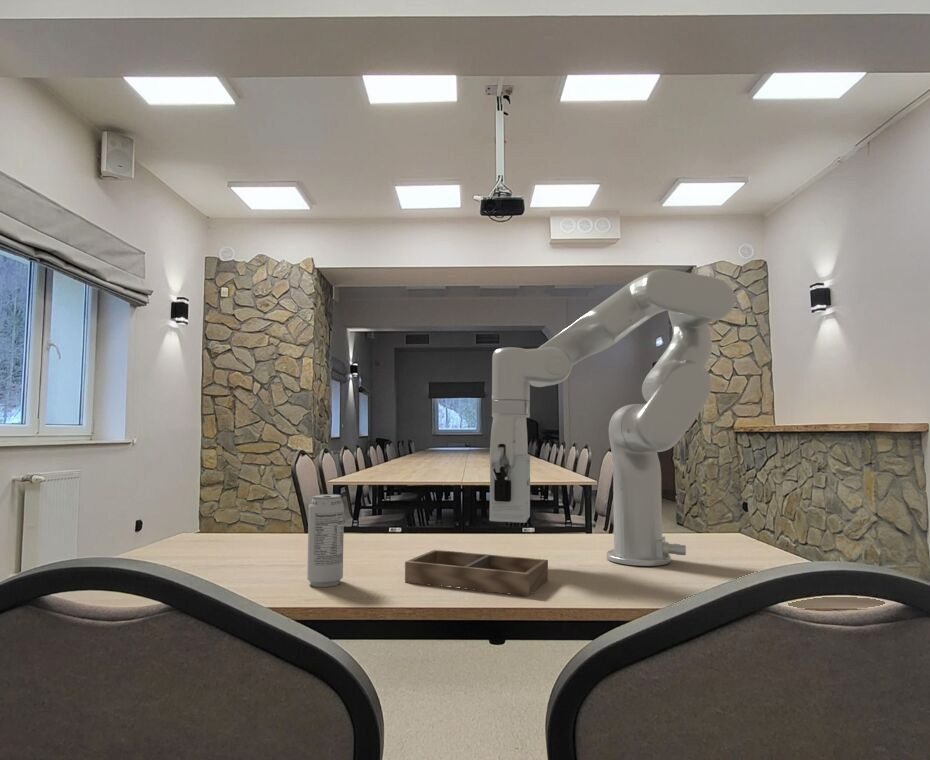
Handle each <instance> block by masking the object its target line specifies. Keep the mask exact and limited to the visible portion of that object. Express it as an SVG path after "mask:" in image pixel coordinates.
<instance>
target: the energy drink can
mask: <svg viewBox="0 0 930 760" xmlns="http://www.w3.org/2000/svg"><path fill="white" fill-rule="evenodd" d="M311 497H312V500H311V501H310V502H309V504H308V523H307V524H308V525H307V567H306V568H307V573H306V574H307V580H308V581H309V582H310V584H309V585H310V586H311V587H315V588H329V587H335V586H337V585H339V584H340V582H341V580H342V579H343V578H344V537H345V536H344V529H345V527H344V526H345V525H344V524H345V523H344V522H345V518H344V517H345V505H344V503H343V501H342V498H341V494H335V493H332V494H331V493H330V494H329V493H328V494H327V493H326V494H315V495H312V496H311Z"/></svg>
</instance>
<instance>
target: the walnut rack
mask: <svg viewBox="0 0 930 760" xmlns="http://www.w3.org/2000/svg"><path fill="white" fill-rule="evenodd" d="M548 581H549V560H548V559H544V558H543V559H541V558H533V557H532V558H531V557H529V558H528V557H519V556H518V557H517V556H508V555H498V554H497V555H496V554H489V553H488V554H486V553H476V552H475V553H474V552H466V551H465V552H463V551H453V550H444V549H443V550H442V549H432V550H431V551H427V552H425V553H424V554H421V555H418V556H416V557H413V558H411V559H408V560H406V561H404V583H407V582H408V584H416V583H419V584H418V585H424V584H430V585H429V586H433V585H440V586H439V587H442V586H451V587H460V588H467V589H466V590H468V589H475V590H474V591H476V590H482V591H481V592H485V591H490V592H489V593H494V592H500V593H499V594H502V593H510V594H509V595H511V594H516V595H515V596H520V595H525V596H524V597H529V596H531V595H532V594H533V593H534V592H536V591H537V590H538V589H539V588H540V587H542V586H543V585H544V584H545V583H546V582H548ZM441 585H442V586H441ZM536 589H537V590H536ZM532 592H533V593H532ZM531 593H532V594H531Z"/></svg>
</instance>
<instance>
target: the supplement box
mask: <svg viewBox="0 0 930 760" xmlns="http://www.w3.org/2000/svg"><path fill="white" fill-rule="evenodd" d="M508 463H509V460H508V459H507V457H506V456H504V457H503V459H502V464H508ZM492 465H493V464H492ZM493 469H494V465H493V467H492V466H491V465H490V464H489V522H501V523H502V522H503V523H504V522H505V523H520V524H521V523H524V524H525V523H527V521H528V520H529V518H530V517H531V511H530V510H531V454H528V455H520V456H516V461H515V466H514V467H513V468H511V473H510V478H509V480H511V501H510V502H502V501H495V500H494V471H493ZM504 470H505V473H506V469H504Z"/></svg>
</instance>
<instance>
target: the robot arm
mask: <svg viewBox="0 0 930 760" xmlns="http://www.w3.org/2000/svg"><path fill="white" fill-rule="evenodd" d="M735 304H736V296H735V292H734V290H733V288H732V286H731V285H729V284H728V282H727V281H725V280H723V279H720V278H718V277H714V276H708V275H704V274H702V275H701V274H697V273H692V272H686V271H681V270H680V271H679V270H673V269H663V268H662V269H660V268H659V269H654V270H651V271H649V272H646V273H645V274H643V275H641V276H639V277H637V278H635V279H633V280H632V281H631V282H628V283H627V284H626V285H624V286H623V287H621V288H620V289H619V290H617V291H616V292H615V293H613V294H612V295H610V296H609V297H607V298H605V300H603V301H602V302H601V303H599V304H598V305H596V306H594V307H593V308H592V309H590V310H589V311H588V312H586V313H585V314H583V315H582V316H581V317H579V318H578V319H577V320H575V321H574V322H573V323H572V324H571V325H569V326H567V327H566V328H564V329H563V330H562V331H560V332H559V333H557V334H556V335H554V336H553V337H551V338H550V339H549V340H548V341H546V342H545V343H543V344H542V345H540V346H539V347H538V348H537V347H536V348H523V347H515V346H514V347H512V346H511V347H499V348H497V349H495V350H494V351H493V353H492V359H491V362H492V364H491V365H492V366H491V371H492V372H491V376H492V377H491V417H492V422H491V430H490V431H491V432H490V445H489V466H490V465H491V466H492V467H493V465H494V469H493V471H494V500H495V501H502V502H510V501H511V480H509V478H510V473H511V468H513V467H514V466H515V461H516V456H520V455H529V454H528V451H529V449H528V448H529V447H528V444H529V443H528V427H527V418H530V417H531V413H530V408H531V407H530V405H531V404H530V403H531V401H530V400H531V399H530V398H531V396H530V395H531V393H530V391H531V388H530V387H531V386H532V387H537V388H543V387H549V386H554V385H558V384H561V383H562V382H564V381H566V380H567V379H568V377H569V376H570V374H571V373H572V368H573V366H575V365H576V364H577V363H579V362H581V361H583V360H585V359H586V358H588V357H591V356H593V355H595V354H598V353H601V352H602V351H605V350H606V349H609V348H610V347H611V346H613V345H615V344H616V343H618V342H619V341H620V340H622V339H623V338H625V337H626V336H627V335H629V334H631V332H633V331H634V330H635V329H637V328H638V327H639V326H641V325H642V324H644V323H645V322H646V321H648V320H649V319H651V318H652V317H654V316H655V315H657V314H660V313H663V312H665V311H666V312H667V313H668V318H669V322H670V324H671V328H672V337H671V340H670V343H669V345H668V346H667V347H666V349H665V350H664V352H663V354H662V355H661V356H660V358H659V359H658V360H657V361H656V363H654V366H653V367H652V368H651V370H650V371H649V372H648V374H646V377H645V378H644V380H643V383H642V385H641V394H642V397H643V398H644V400H645V402H646V403H634V404H633V403H632V404H627V405H624V406H622V407H619V408H618V409H617V410H616V411H615V412H613V414H612V415H611V418H610V421H609V422H608V423H609V425H608V439H609V445H610V451H611V457H612V459H611V460H612V477H613V478H612V482H613V483H612V487H613V489H612V491H613V492H612V493H613V501H612V502H613V547H614V548H613V549H611V550H610V549H609V550H607V552H606V559H607V560H609V561H611V562H613V563H617V564H620V565H621V564H622V565H628V566H635V567H636V566H638V567H656V566H657V567H658V566H663V565H668V564H670V563H671V561H672V556H671V555H672V554H673V555H676V556H686V555H687V545H685V544H680V543H669V542H667V541H666V536H663V512H662V511H663V510H662V507H663V506H662V471H661V462H660V459H659V455H658V453H660V452H661V453H662V452H665V451H668V450H671V449H672V448H673V447H674V446H675V445H676V444H677V443H679V441H680V440H681V439H682V438H683V436H684V435H685V433H686V432H687V430H688V429H689V427H691V425H692V424H693V422H694V421H695V419H696V418H697V416H698V415H699V414H700V412H701V411H702V409H703V408H704V406H705V405H706V403H707V401H708V400H709V397H710V394H711V391H712V390H711V389H712V380H711V375H710V373H709V371H708V369H707V368H706V367H705V366H706V365H707V363H708V361H709V359H710V357H711V355H712V352H713V342H712V341H713V340H712V336H711V333H710V329H709V325H708V324H710V323H713V322H717V321H720V320H723V319H725V318H726V317H727V316H728V315H730V313H731V312H732V311H733V309H734V307H735ZM504 456H506V457H507V459H508V460H509V463H508V464H502V459H503V457H504ZM492 464H493V465H492ZM504 469H506V473H505V470H504Z"/></svg>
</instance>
